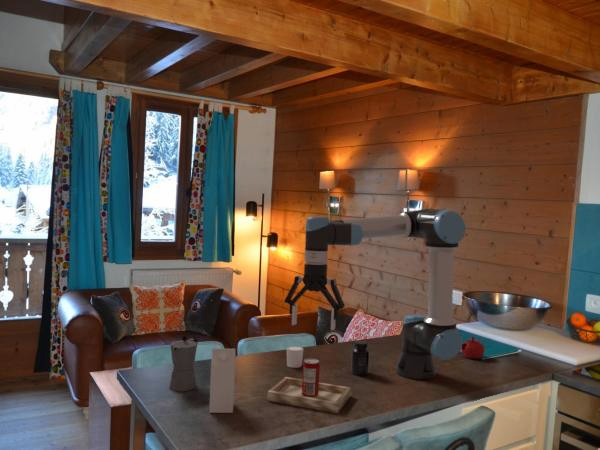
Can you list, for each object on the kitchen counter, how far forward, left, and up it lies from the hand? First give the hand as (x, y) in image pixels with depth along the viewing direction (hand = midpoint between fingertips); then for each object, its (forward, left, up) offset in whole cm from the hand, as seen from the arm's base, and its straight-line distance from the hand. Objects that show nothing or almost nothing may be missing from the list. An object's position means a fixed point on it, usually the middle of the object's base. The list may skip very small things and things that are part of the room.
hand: (313, 326), depth 176 cm
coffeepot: (+43, +9, -24) cm, 50 cm away
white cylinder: (+17, -30, -24) cm, 43 cm away
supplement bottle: (-9, -33, -24) cm, 42 cm away
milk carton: (+22, +21, -24) cm, 39 cm away
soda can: (0, 0, -23) cm, 23 cm away
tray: (0, 0, -24) cm, 24 cm away
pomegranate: (-49, -78, -24) cm, 96 cm away
